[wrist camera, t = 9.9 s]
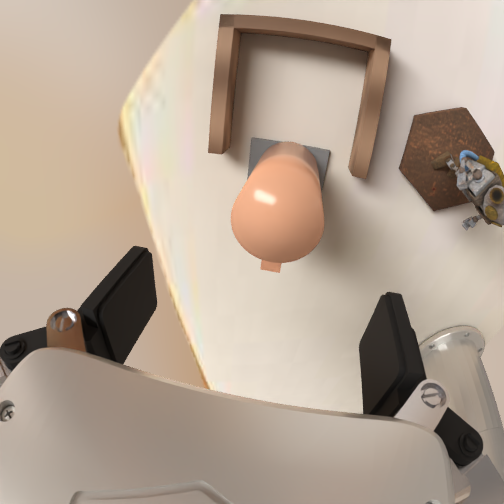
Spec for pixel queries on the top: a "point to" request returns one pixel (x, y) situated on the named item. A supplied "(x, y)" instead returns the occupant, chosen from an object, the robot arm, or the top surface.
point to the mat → (262, 144)
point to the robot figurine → (454, 165)
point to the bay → (305, 30)
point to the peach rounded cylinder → (280, 206)
